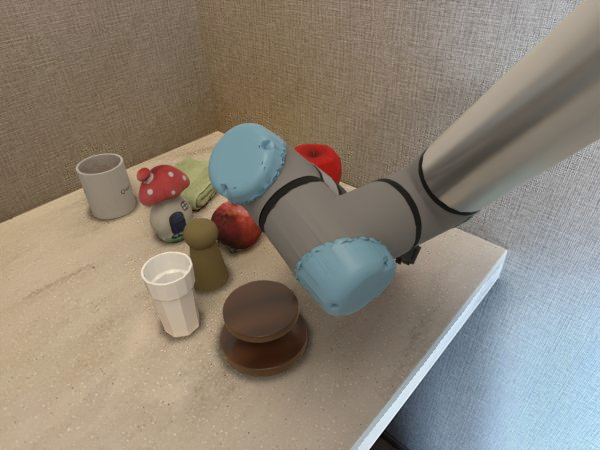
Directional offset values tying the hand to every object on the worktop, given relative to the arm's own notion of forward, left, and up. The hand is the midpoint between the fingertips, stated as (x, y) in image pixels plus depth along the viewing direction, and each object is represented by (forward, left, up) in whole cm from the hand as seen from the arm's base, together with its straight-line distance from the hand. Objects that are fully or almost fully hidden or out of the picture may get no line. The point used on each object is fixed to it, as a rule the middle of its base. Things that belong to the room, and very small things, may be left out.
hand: (371, 240), depth 71 cm
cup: (+4, +31, -6) cm, 32 cm away
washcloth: (+40, +17, -6) cm, 44 cm away
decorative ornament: (+26, +25, -6) cm, 37 cm away
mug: (+43, +32, -6) cm, 54 cm away
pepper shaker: (+11, +24, -6) cm, 27 cm away
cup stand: (-5, +22, -5) cm, 23 cm away
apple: (+19, -1, -6) cm, 20 cm away
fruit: (+17, +16, -6) cm, 24 cm away
